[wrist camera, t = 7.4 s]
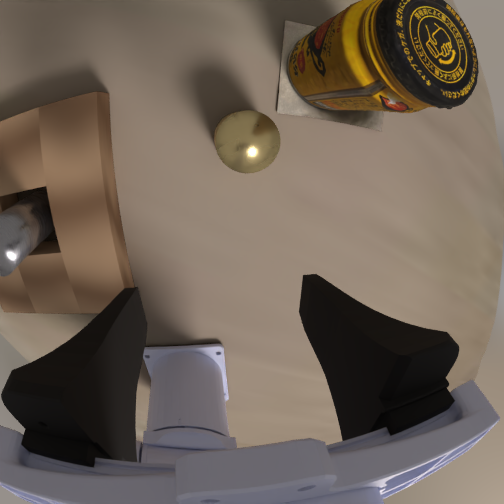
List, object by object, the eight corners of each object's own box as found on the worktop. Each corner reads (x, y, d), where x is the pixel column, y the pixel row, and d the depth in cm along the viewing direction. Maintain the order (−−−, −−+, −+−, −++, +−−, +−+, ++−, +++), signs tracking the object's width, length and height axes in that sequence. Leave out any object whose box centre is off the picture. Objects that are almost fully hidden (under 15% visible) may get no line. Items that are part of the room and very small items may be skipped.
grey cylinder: (66, 228, 19) (23, 272, 13) (34, 236, 19) (-10, 279, 13) (53, 185, 18) (2, 217, 11) (21, 196, 17) (-30, 230, 11)
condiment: (284, 20, 15) (368, -57, 4) (386, 48, 16) (506, 32, 6) (276, 113, 18) (364, 114, 8) (379, 131, 20) (502, 164, 9)
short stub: (265, 161, 20) (279, 172, 16) (214, 163, 19) (216, 174, 16) (266, 111, 18) (280, 110, 15) (213, 112, 18) (214, 111, 14)
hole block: (136, 294, 23) (131, 312, 21) (14, 297, 21) (4, 312, 19) (109, 93, 16) (96, 91, 13) (-25, 137, 14) (-42, 141, 12)
